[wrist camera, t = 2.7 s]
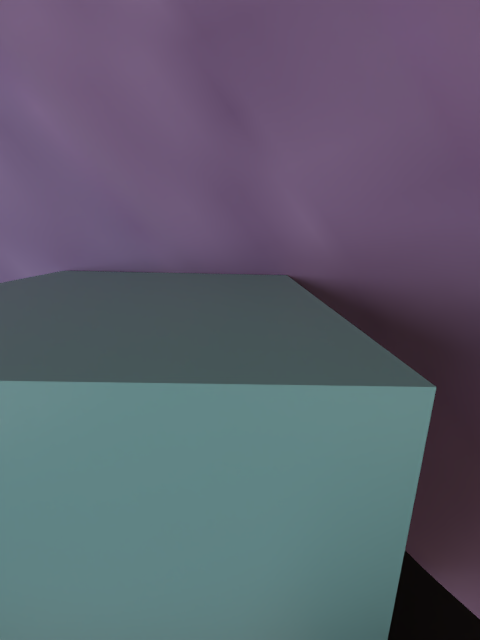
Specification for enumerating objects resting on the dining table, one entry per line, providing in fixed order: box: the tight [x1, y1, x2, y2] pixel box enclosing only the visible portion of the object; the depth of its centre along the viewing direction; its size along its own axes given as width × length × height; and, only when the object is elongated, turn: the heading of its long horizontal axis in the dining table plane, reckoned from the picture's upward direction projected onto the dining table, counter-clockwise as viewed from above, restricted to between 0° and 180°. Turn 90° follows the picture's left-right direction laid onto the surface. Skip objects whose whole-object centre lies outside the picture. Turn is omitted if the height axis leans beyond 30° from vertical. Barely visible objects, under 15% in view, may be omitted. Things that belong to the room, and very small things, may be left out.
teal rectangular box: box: [0, 271, 436, 640], centre depth 6 cm, size 6×10×6 cm, turn 179°
